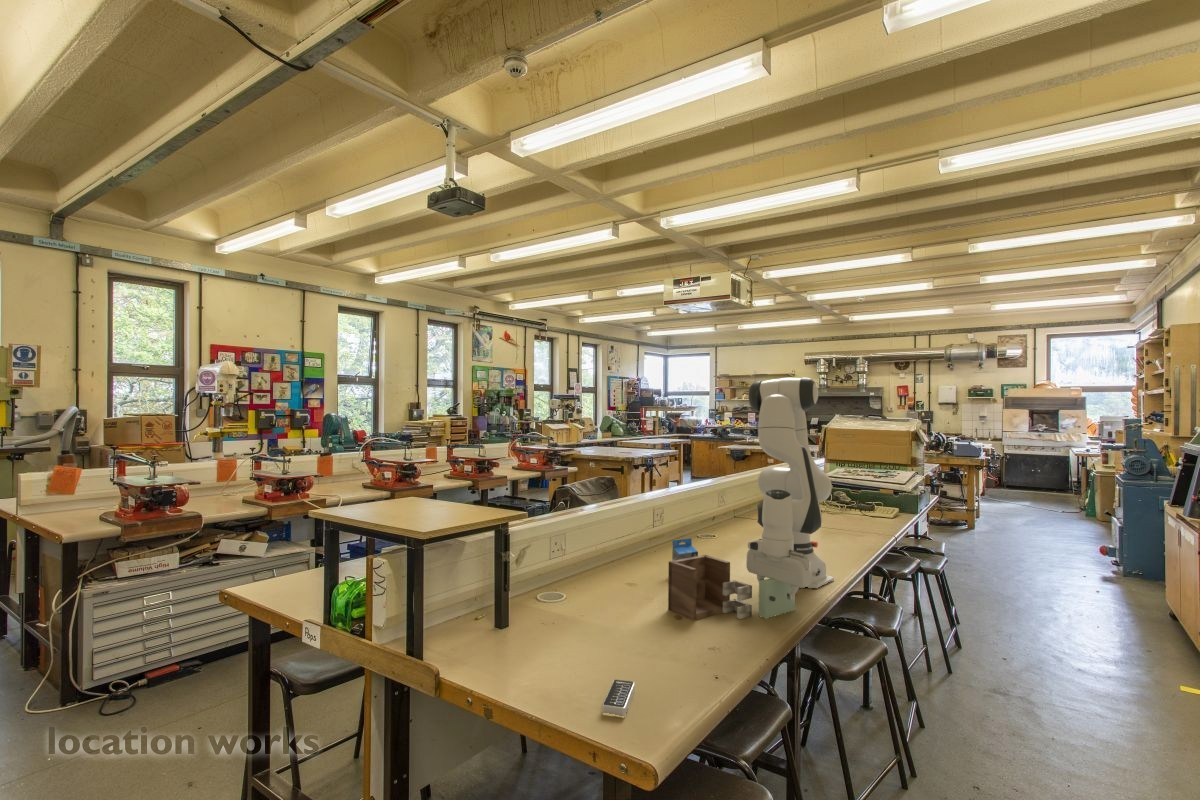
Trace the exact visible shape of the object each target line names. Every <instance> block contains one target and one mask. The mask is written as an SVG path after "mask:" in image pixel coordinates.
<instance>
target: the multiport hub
mask: <svg viewBox="0 0 1200 800" xmlns="http://www.w3.org/2000/svg"><path fill="white" fill-rule="evenodd" d="M635 683H636V682H635V681H630V680H623V679H613V680H612V683H611V685H610V687H609V690H608V692H607V693H606V695H605V698H604V700H603V701H602V702H603V703H602V705H601V706H602V707H601V711H602V712H603V713H609V714H615V715H619V716H625V714H626V712H627V713H628V711H627V709H628V710H629V708H628V706H629V704H630V705H631V703H630V702H632V700H633V698H634V695H633V694H635V692H636V691H635V687H636V686H635ZM634 691H635V692H634ZM632 697H633V698H632ZM631 699H632V700H631ZM629 707H630V706H629ZM602 712H601V713H602ZM626 715H627V714H626ZM625 717H626V716H625Z"/></svg>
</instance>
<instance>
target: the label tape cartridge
mask: <svg viewBox="0 0 1200 800" xmlns="http://www.w3.org/2000/svg"><path fill="white" fill-rule="evenodd" d="M682 543H684V544H682ZM692 544H693V543H692V538H690V537H689V538H682V539H674V540H673V539H672V553H671V554H672V555H671V557H672V559H671V561H675V560H680V559H686V558H691V557H697V556H699V551H698V550H697V549H696V548H695V546H693V545H692Z"/></svg>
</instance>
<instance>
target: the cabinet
mask: <svg viewBox="0 0 1200 800" xmlns="http://www.w3.org/2000/svg"><path fill="white" fill-rule="evenodd" d="M667 584H668V587H667V589H668V590H667V591H668V598H667V599H668V601H667V603H668V605H667V608H668V609H667V610H668V611H670V612H672V613H675V614H677V615H679V616H681V617H684V618H685V619H688V620H690V621H695V620H699V619H702V618H706V617H710V616H714V615H717V614H721V613H723V614H729V613H732V612H736V619H739V620H741V619H745V618H749V617H752V616H753V610H752V609H753V605H752V604H750V603H747V602H745V601H746V600H751V599H753V585H751V584H749V583H746V582H742V581H739V580H736V579H734V580H731V562H730V561H728V560H724V559H721V558H718V557H714V556H711V555H707V554H703V555H698V556H697V557H691V558H686V559H680V560H675V561H672V560H670V561H668V583H667ZM735 594H736V595H737V598H733V599H731V595H735Z"/></svg>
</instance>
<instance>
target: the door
mask: <svg viewBox="0 0 1200 800" xmlns="http://www.w3.org/2000/svg"><path fill="white" fill-rule="evenodd" d="M791 590H792V589H791V588H790V584H786V583H783V582H780V581H777V580H774V579H770V578H767V579H764V580H761V581H758V617H759V616H761V617H760V618H762V617H764V618H763V619H765V618H767V619H770V618H769V617H771V618H773V617H772V616H774V617H776V616H775V615H778V616H780V615H779V614H781V615H783V614H782V613H784V614H787V613H786V612H788V613H790V612H789V611H791V612H794V611H793V610H795V611H796V599H795V600H793V601H791V600H788V599H787V593H790V592H791Z"/></svg>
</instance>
